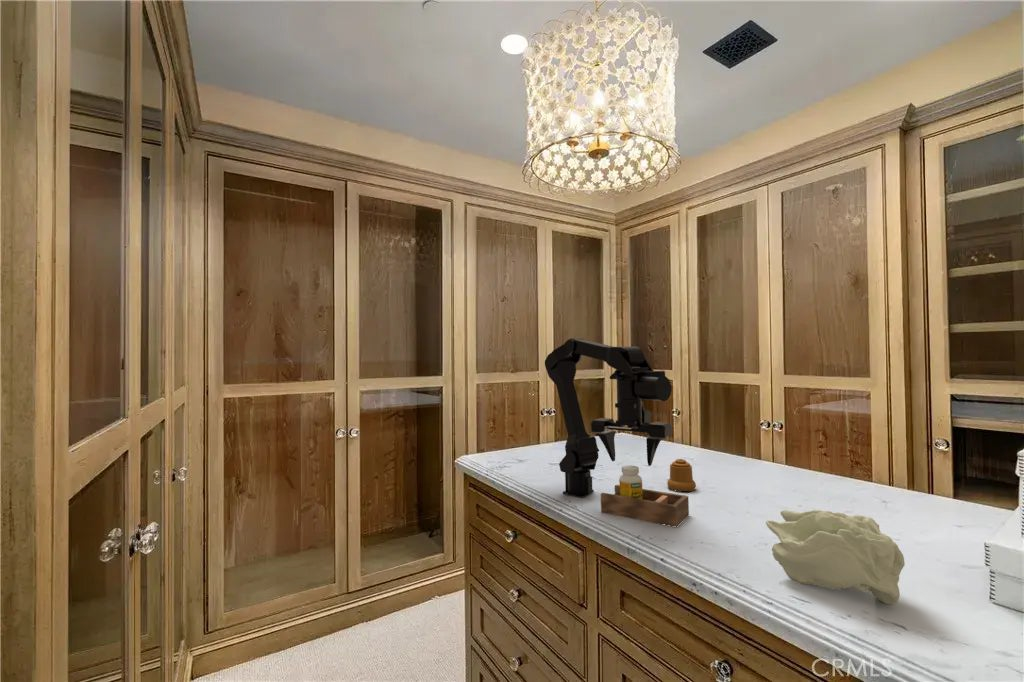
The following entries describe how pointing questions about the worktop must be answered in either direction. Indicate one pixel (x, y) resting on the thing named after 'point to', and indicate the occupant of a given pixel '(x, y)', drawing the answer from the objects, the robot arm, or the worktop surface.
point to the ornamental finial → (681, 476)
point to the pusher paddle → (662, 499)
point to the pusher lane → (647, 506)
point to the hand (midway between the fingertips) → (631, 463)
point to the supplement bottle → (630, 482)
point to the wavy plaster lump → (838, 552)
